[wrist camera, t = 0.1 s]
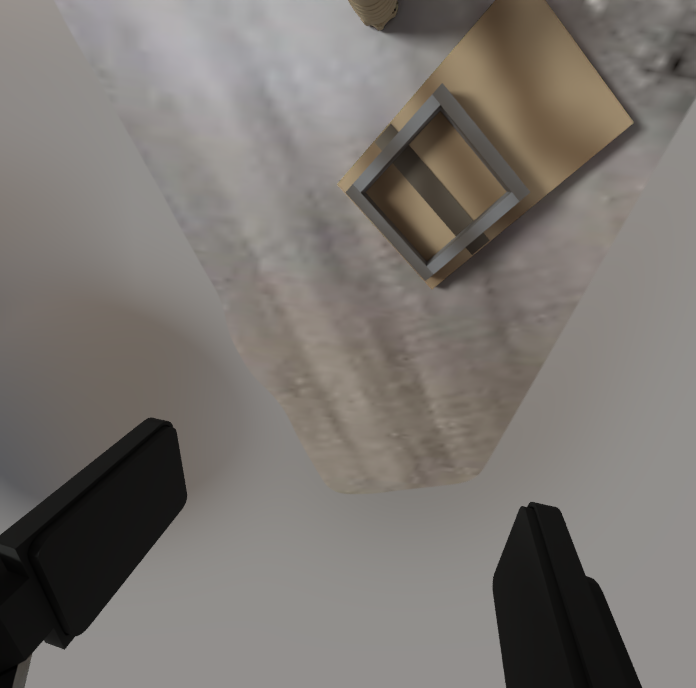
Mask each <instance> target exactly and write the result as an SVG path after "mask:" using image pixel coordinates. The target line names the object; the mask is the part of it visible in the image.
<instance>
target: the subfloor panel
mask: <svg viewBox="0 0 696 688" xmlns="http://www.w3.org/2000/svg"><path fill="white" fill-rule="evenodd" d="M633 123H634V122H633V121H632V119H631V118H630V117H629V115H628V114H627V112H626V111H625V110H624V108H623V107H622V106H621V104H620V103H619V101H618V100H617V99H616V97H615V96H614V95H613V93H612V92H611V90H610V89H609V88H608V86H607V85H606V84H605V82H604V81H603V79H602V78H601V77H600V75H599V74H598V73H597V71H596V70H595V68H594V67H593V66H592V64H591V63H590V62H589V60H588V59H587V57H586V56H585V55H584V53H583V52H582V50H581V49H580V48H579V46H578V45H577V44H576V42H575V41H574V39H573V38H572V37H571V35H570V34H569V33H568V31H567V30H566V28H565V27H564V26H563V24H562V23H561V22H560V20H559V19H558V17H557V16H556V15H555V13H554V12H553V11H552V9H551V8H550V6H549V5H548V4H547V2H546V1H545V0H495V1H494V2H493V4H492V5H491V6H490V7H489V8H488V9H487V11H486V12H485V13H484V14H483V15H482V16H481V18H480V19H479V20H478V21H477V22H476V23H475V25H474V26H473V27H472V28H471V29H470V30H469V31H468V33H467V34H466V35H465V36H464V37H463V38H462V40H461V41H460V42H459V43H458V44H457V45H456V47H455V48H454V49H453V50H452V51H451V52H450V54H449V55H448V56H447V57H446V58H445V59H444V61H443V62H442V63H441V64H440V65H439V66H438V68H437V69H436V70H435V71H434V72H433V73H432V74H431V76H430V77H429V78H428V79H427V80H426V81H425V83H424V84H423V85H422V86H421V87H420V88H419V90H418V91H417V92H416V93H415V94H414V95H413V97H412V98H411V99H410V100H409V101H408V102H407V104H406V105H405V106H404V107H403V108H402V109H401V110H400V112H399V113H398V114H397V115H396V116H395V117H394V119H393V120H392V121H391V122H390V123H389V124H388V126H387V127H386V128H385V129H384V130H383V131H382V133H381V134H380V135H379V136H378V137H377V138H376V140H375V141H374V142H373V143H372V144H371V145H370V147H369V148H368V149H367V150H366V151H365V152H364V153H363V155H362V156H361V157H360V158H359V159H358V160H357V162H356V163H355V164H354V165H353V166H352V167H351V169H350V170H349V171H348V172H347V173H346V174H345V176H344V177H343V178H342V179H341V180H340V181H339V183H338V184H337V185H338V186H339V187H340V188H341V189H342V191H343V192H344V193H345V194H346V195H347V196H348V197H349V198H350V199H351V201H352V202H353V203H354V204H355V205H356V206H357V207H358V208H359V209H360V210H361V212H362V213H363V214H364V215H365V216H366V217H367V218H368V219H369V220H370V222H371V223H372V224H373V225H374V226H375V227H376V228H377V229H378V230H379V232H380V233H381V234H382V235H383V236H384V237H385V238H386V239H387V240H388V242H389V243H390V244H391V245H392V246H393V247H394V248H395V249H396V250H397V251H398V253H399V254H400V255H401V256H402V257H403V258H404V259H405V260H406V261H407V263H408V264H409V265H410V266H411V267H412V268H413V269H414V270H415V271H416V273H417V274H418V275H419V276H420V277H421V278H422V279H423V280H424V281H425V283H426V284H427V285H428V286H429V287H430V288H431V289H433V288H434V287H436V286H437V285H438V284H439V283H440V282H442V281H443V280H444V279H445V278H446V277H448V276H449V275H450V274H451V273H452V272H454V271H455V270H456V269H457V268H459V267H460V266H461V265H462V264H463V263H465V262H466V261H467V260H468V259H469V258H471V257H472V256H473V255H474V254H475V253H477V252H478V251H479V250H480V249H482V248H483V247H484V246H485V245H486V244H488V243H489V242H490V241H491V240H492V239H494V238H495V237H496V236H497V235H498V234H500V233H501V232H502V231H503V230H505V229H506V228H507V227H508V226H509V225H511V224H512V223H513V222H514V221H515V220H517V219H518V218H519V217H520V216H521V215H523V214H524V213H525V212H526V211H528V210H529V209H530V208H531V207H532V206H534V205H535V204H536V203H537V202H538V201H540V200H541V199H542V198H543V197H544V196H546V195H547V194H548V193H549V192H551V191H552V190H553V189H554V188H555V187H557V186H558V185H559V184H560V183H561V182H563V181H564V180H565V179H566V178H567V177H569V176H570V175H571V174H572V173H574V172H575V171H576V170H577V169H578V168H580V167H581V166H582V165H583V164H584V163H586V162H587V161H588V160H589V159H590V158H592V157H593V156H594V155H595V154H597V153H598V152H599V151H600V150H601V149H603V148H604V147H605V146H606V145H607V144H609V143H610V142H611V141H612V140H613V139H615V138H616V137H617V136H618V135H620V134H621V133H622V132H623V131H624V130H626V129H627V128H628V127H629V126H630V125H632V124H633Z"/></svg>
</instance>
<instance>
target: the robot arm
mask: <svg viewBox="0 0 696 688" xmlns="http://www.w3.org/2000/svg"><path fill="white" fill-rule="evenodd" d="M186 500H187V491H186V485H185V479H184V473H183V467H182V461H181V455H180V449H179V443H178V438H177V432H176V429H175V428H173V425H172V424H171V422H169V421H164V420H159V419H155V418H148V419H146V420H144V421H143V422H142V423H141V424H139V425H138V426H137V427H135V428H134V429H133V430H132V431H130V432H129V433H128V434H127V435H125V436H124V437H123V438H122V439H120V440H119V441H118V442H117V443H115V444H114V445H113V446H112V447H110V448H109V449H108V450H106V451H105V452H104V453H103V454H102V455H100V456H99V457H98V458H97V459H95V460H94V461H93V462H91V463H90V464H89V465H88V466H86V467H85V468H84V469H83V470H81V471H80V472H79V473H78V474H76V475H75V476H74V477H73V478H71V479H70V480H69V481H68V482H66V483H65V484H64V485H62V486H61V487H60V488H59V489H58V490H56V491H55V492H54V493H52V494H51V495H50V496H49V497H47V498H46V499H45V500H44V501H43V502H41V503H40V504H39V505H37V506H36V507H35V508H34V509H33V510H31V511H30V512H29V513H27V514H26V515H25V516H24V517H22V518H21V519H20V520H19V521H17V522H16V523H15V524H13V525H12V526H11V527H10V528H8V529H7V530H6V531H5V532H3V533H2V534H1V535H0V688H24V687H25V683H26V678H27V674H28V670H29V666H30V661H31V657H32V653H33V652H34V650H35V649H36V648H37V647H38V646H39V644H40V643H41V642H42V641H43V640H44V641H45V642H46V643H48V644H51V645H54V646H56V647H59V648H62V649H65V648H66V647H67V646H68V645H69V643H70V642H71V641H72V640H73V638H74V637H75V636H78V635H80V634H82V633H83V632H84V631H85V630H86V629H87V628H88V627H89V626H90V624H91V623H92V622H93V621H94V620H95V618H96V617H97V616H98V615H99V613H100V612H101V611H102V609H103V608H104V607H105V606H106V604H107V603H108V602H109V601H110V599H111V598H112V597H113V595H114V594H115V593H116V592H117V591H118V589H119V588H120V587H121V585H122V584H123V583H124V582H125V580H126V579H127V578H128V577H129V575H130V574H131V573H132V572H133V570H134V569H135V568H136V566H137V565H138V564H139V563H140V562H141V560H142V559H143V558H144V556H145V555H146V554H147V553H148V551H149V550H150V549H151V548H152V546H153V545H154V544H155V543H156V541H157V540H158V539H159V538H160V536H161V535H162V534H163V533H164V531H165V530H166V529H167V527H168V526H169V525H170V524H171V522H172V521H173V520H174V518H175V517H176V516H177V515H178V514H179V512H180V511H181V510H182V508H183V507H184V505H185V503H186ZM493 596H494V603H495V611H496V618H497V625H498V632H499V639H500V646H501V653H502V661H503V668H504V675H505V682H506V688H642V686H641V684H640V681H639V679H638V677H637V674H636V672H635V669H634V667H633V664H632V662H631V660H630V657H629V655H628V652H627V650H626V648H625V645H624V643H623V640H622V638H621V635H620V633H619V630H618V628H617V626H616V623H615V621H614V618H613V616H612V614H611V611H610V608H609V606H608V604H607V601H606V599H605V596H604V594H603V592H602V590H601V588H600V586H599V584H598V583H597V582H596V581H595V580H594V579H592V578H590V577H587V576H585V573H584V571H583V568H582V565H581V562H580V560H579V558H578V555H577V552H576V550H575V547H574V544H573V542H572V539H571V537H570V534H569V531H568V529H567V527H566V523H565V521H564V518H563V516H562V513H561V511H560V510H559V509H558V508H557V507H552V506H548V505H543V504H539V503H535V502H530V503H529V505H528V507H524V506H521V507H520V509H519V512H518V514H517V517H516V519H515V522H514V524H513V527H512V530H511V532H510V535H509V537H508V540H507V542H506V545H505V548H504V550H503V553H502V556H501V558H500V560H499V563H498V566H497V568H496V571H495V573H494V577H493Z"/></svg>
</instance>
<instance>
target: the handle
mask: <svg viewBox="0 0 696 688" xmlns="http://www.w3.org/2000/svg"><path fill="white" fill-rule="evenodd" d="M348 1H349V3H350V4H351V6H352V8H353V9H354V11H355V12H356V13H357V14H358V16H359V17H360V19H361V20H362V22H363V23H364V24H365V25H366V26H369V25H371V26H374V27H375V28H376V29H377V30H383V29H384V26H385V25H386V23H387V22H388V21H389V20H390V19H391V18H394V17H395V16H396V14H397V10H398V1H397V0H348Z"/></svg>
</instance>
